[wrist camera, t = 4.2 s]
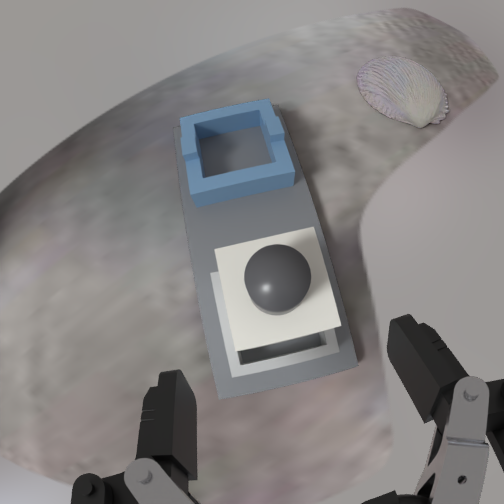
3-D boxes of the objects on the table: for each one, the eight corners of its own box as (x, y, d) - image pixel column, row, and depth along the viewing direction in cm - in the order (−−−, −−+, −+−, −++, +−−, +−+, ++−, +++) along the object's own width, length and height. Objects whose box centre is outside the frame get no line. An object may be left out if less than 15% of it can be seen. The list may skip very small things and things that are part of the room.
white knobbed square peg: (306, 335, 19) (354, 321, 8) (253, 348, 19) (228, 352, 8) (293, 284, 20) (320, 206, 9) (241, 296, 20) (204, 232, 9)
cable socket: (355, 365, 19) (371, 368, 16) (220, 397, 19) (210, 407, 15) (277, 110, 25) (278, 81, 22) (175, 133, 25) (163, 106, 22)
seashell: (376, 109, 22) (355, 24, 22) (361, 136, 27) (346, 57, 28) (476, 123, 21) (447, 41, 22) (450, 144, 26) (429, 68, 27)
